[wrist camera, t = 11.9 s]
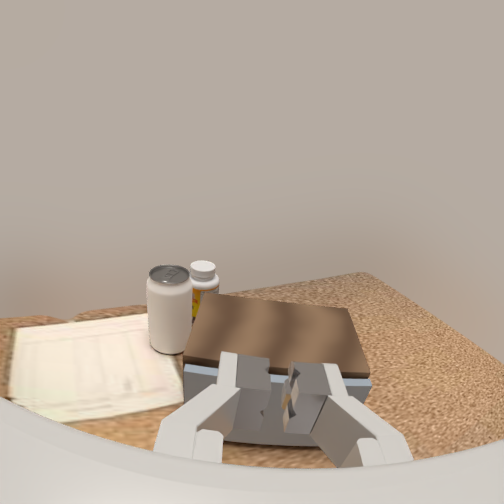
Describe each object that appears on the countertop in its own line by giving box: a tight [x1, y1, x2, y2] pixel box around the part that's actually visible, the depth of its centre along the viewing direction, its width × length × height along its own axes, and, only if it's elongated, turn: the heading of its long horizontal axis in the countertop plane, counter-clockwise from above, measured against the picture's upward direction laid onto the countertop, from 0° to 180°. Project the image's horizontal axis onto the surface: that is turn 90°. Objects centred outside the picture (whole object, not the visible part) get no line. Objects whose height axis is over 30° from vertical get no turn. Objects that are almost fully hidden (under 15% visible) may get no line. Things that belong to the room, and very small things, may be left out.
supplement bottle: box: [190, 261, 219, 325], centre depth 52 cm, size 6×6×10 cm
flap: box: [183, 364, 372, 446], centre depth 29 cm, size 18×1×10 cm, turn 88°
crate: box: [183, 292, 370, 388], centre depth 36 cm, size 18×12×12 cm, turn 87°
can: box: [147, 265, 193, 355], centre depth 45 cm, size 6×6×12 cm
